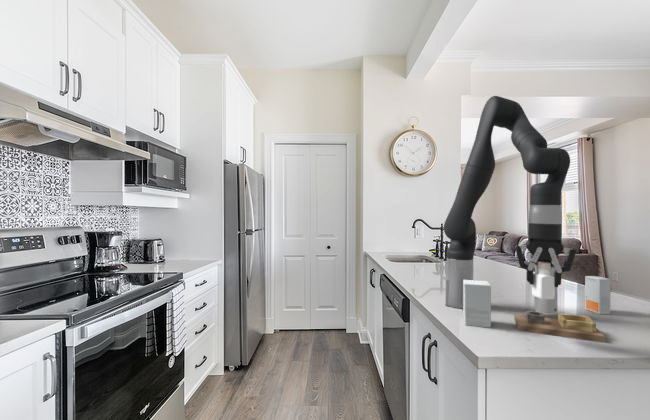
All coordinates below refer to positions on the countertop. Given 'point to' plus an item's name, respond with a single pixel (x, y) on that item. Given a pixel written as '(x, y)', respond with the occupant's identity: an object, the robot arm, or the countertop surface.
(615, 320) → the countertop surface
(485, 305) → the supplement box
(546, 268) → the pepper shaker
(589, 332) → the brown wooden flat board
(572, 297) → the countertop surface
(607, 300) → the skincare box
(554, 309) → the travel mug
